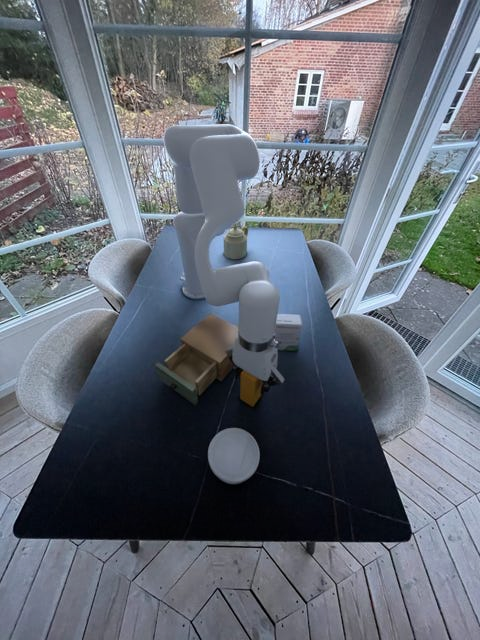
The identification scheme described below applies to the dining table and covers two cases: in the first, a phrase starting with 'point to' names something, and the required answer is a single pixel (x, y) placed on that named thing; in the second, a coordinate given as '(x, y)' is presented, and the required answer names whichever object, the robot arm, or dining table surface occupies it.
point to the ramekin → (233, 455)
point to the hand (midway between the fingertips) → (251, 382)
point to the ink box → (288, 331)
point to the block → (250, 388)
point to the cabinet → (213, 341)
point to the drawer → (188, 372)
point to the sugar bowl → (236, 242)
